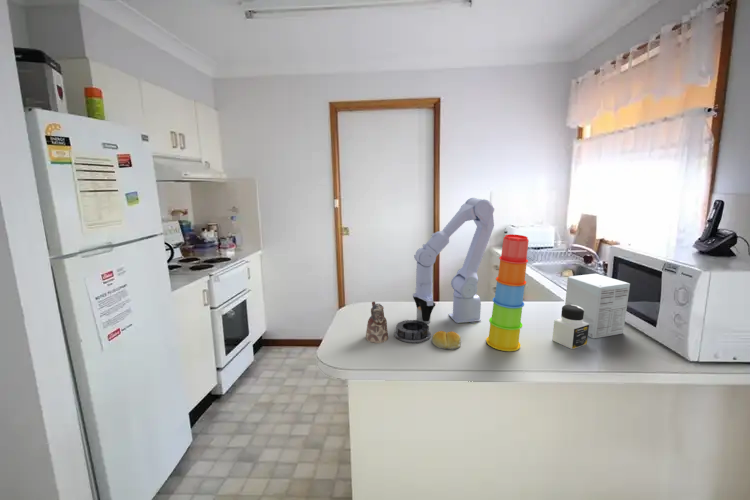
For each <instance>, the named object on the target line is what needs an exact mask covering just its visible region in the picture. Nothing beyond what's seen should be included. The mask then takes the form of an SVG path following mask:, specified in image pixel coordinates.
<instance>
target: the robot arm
mask: <svg viewBox="0 0 750 500" xmlns="http://www.w3.org/2000/svg"><path fill="white" fill-rule="evenodd" d="M494 212H495V208H494V206H493V204H492V203H491V202H490V201H489V200H488V199H485V198H483V199H482V198H476V197H469V198H468V199H467V200H466V201H465V203H463V204H462V205H461V206H460V208H459V210H458V211H457V212H456V213H455V214H454V215H453V217H452V218H451V219H450V221H449V222H448V223H447V224H446V225H445V227H444V228H443V229H442V230H439V231H436V232H432V233H431V235H430V236H431V237H430V238H429V239H428V241H427V242H425V244H424V243H423V244H422V247H420V248H418V249H417V250H416V251H415V254H414V255H413V256H414V260H415V261H416V271H415V273H416V274H415V275H416V276H415V277H416V278H415V279H416V280H415V293H412V298H413V300H414V302H415V306H416V308H417V307H419V306H420V308H421V312H422V319H423V321H429V319H430V320H431V318H430V316H431V315H432V312H433V310H434V308H435V306H436V303H435V302H434V300H433V295H434V294H433V277H434V276H433V275H434V273H433V271H434V270H433V267H434V264H435V263H436V260H437V256H438V255H439V254H440V253H441V252H442V251H443V250H444V249H445V248H446V246H448V245H449V243H450V237H452V236H453V234H454V233H455V232H457V230H458V229H460V228H461V227H462V226H463V225H464V224H465V223H466V222H469V221H473V222H474V224H475V225H476V227H475V232H474V234H473V237H472V240H471V242H470V245H469V248H468V251H467V252H466V253H467V254H466V256H465V258H464V262H463V264H462V267H461V268H459V269H458V270H457V272H456V274H455V275H454V276H453V277H452V279H451V283H450V285H451V288H452V289H453V296H452V297H453V298H452V312H451V313H449V314H448V316H449V317H450V318H451V319H452V320H453V321H454V322H455V323H456V324H460V323H473V322H475V323H476V322H481V320H482V319H481V309H482V307H481V306H482V304H481V298H480V296H479V295H478V294H477V292H478V283H479V277H478V270H479V267H480V265H481V263H482V260H483V258H484V254H485V251H486V249H487V246H488V243H489V241H490V238H491V236H492V232H493V230H494V226H495V222H494V221H495V220H494Z"/></svg>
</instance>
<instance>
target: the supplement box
mask: <svg viewBox="0 0 750 500" xmlns="http://www.w3.org/2000/svg"><path fill="white" fill-rule="evenodd" d="M630 287H631V283H629V282H626V281H623V280H619V279H616V278H611V277H610V276H606V275H602V274H599V273H589V274H582V275H581V274H580V275H572V276H570V275H569V276H568V277H567V281H566V293H565V301H564V305H576V306H579V307H581V308H583V310H584V316H583V321H584V322H586V323H589V330H588V337H590V338H592V339H599V338H600V339H601V338H604V337H609V336H616V335H621V334H622V335H623V334H624V330H625V323H626V315H627V314H626V313H627V308H628V300H629V295H630Z"/></svg>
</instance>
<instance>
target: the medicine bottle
mask: <svg viewBox="0 0 750 500" xmlns="http://www.w3.org/2000/svg"><path fill="white" fill-rule="evenodd" d="M583 316H584V310H583V308H581V307H579V306H576V305H565V304H564V305H563V306H562V307H561V315H560V318H557V319H554V321H553V328H552V329H553V331H552V341H553V342H555V343H557V344H559V345H562V346H564V347H566V348H569V349H571V350H575V349H578V348H580V347H583V346H587V344H588V337H589V336H588V330H589V323H586V322H584V321H583Z"/></svg>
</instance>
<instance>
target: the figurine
mask: <svg viewBox="0 0 750 500" xmlns="http://www.w3.org/2000/svg"><path fill="white" fill-rule="evenodd" d="M371 306H372V307H371V308H370V317H369V318H368V320H367V324H366V331H365V332H366V333H365V337H366V341H368V342H369V343H370V342H371V343H375V344H382V343H385V342H387V341H388V339H389V331H388V322H387V318H386V317H385V312H384V305H382V304H381V303H376V302H375V301H372V302H371Z"/></svg>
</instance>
